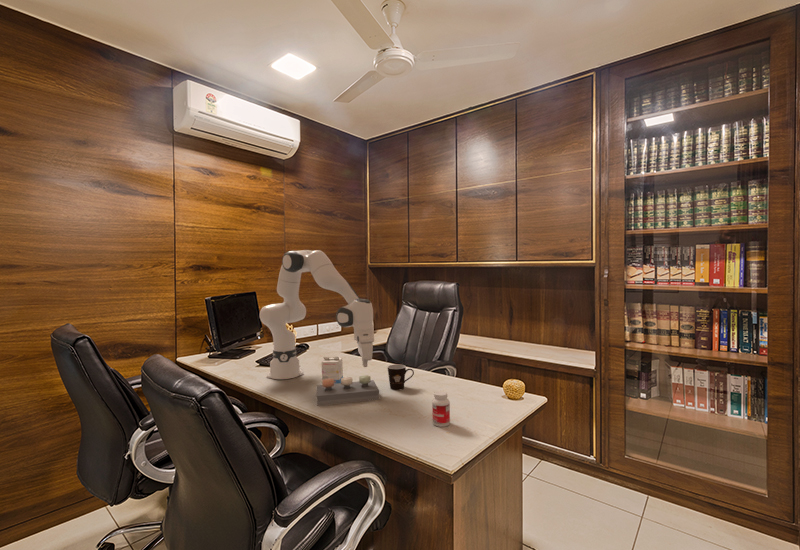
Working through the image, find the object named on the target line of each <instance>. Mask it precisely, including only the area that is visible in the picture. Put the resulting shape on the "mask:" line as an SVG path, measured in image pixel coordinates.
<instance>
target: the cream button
mask: <svg viewBox="0 0 800 550" xmlns="http://www.w3.org/2000/svg"><path fill="white" fill-rule="evenodd" d="M353 382H354V381H353V377H351V376H345V377H344V376H343V378H341V385H344V389H350V385H351V384H353Z"/></svg>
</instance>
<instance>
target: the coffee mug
mask: <svg viewBox="0 0 800 550" xmlns="http://www.w3.org/2000/svg"><path fill="white" fill-rule="evenodd" d="M406 368H407V366H406V365H404V364H398V363H396V364H389V365H387V373H388V379H389V380H388V382H389V386H390V387H389V388H390V390H393V391H401V390H403V389H405V383H406V382H407V381H409V380H410V379H411V378H412V377H413V376H414V374H415V373H414V369H413V368H407V369H406ZM408 371H412V374H411V375H410V376H409V377H408V378H406V374H407V373H408Z"/></svg>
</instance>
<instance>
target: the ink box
mask: <svg viewBox="0 0 800 550" xmlns="http://www.w3.org/2000/svg"><path fill="white" fill-rule="evenodd" d="M343 371H344V367H343V357H338V356H324V357H323V360H322V361H321V377H322V378H321V380H324V379H334V384H337V383H341V378H344V375H343V374H344V372H343Z"/></svg>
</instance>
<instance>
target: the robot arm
mask: <svg viewBox="0 0 800 550" xmlns="http://www.w3.org/2000/svg"><path fill="white" fill-rule="evenodd" d="M309 272H310V274H311V276H312V278H313V280H314V281H315V282H316V285H318V286H319V287H321V288H322V289H324V290H329V291H332V292H335V293H338V294H339V295H341V296H342V297H343V299H344V300H345V301H346V303H347V305H344V306H341V307H339V308H338V309H337V310H336V314H335V320H336V322H337V324H338V326H340V327H341V328H350V327H353V340H354V341H356V343H357V350H358V351H357V352H358V354H359V355H360V357H361V363H362V366H363V368H367V367H368V362H369V361H372V360H373V349H374V348H373V347H374V345H373V344H374V342H375V332H374V331H375V330H374V324H373V321H374V309H373V304H372V302H371V300H369V299H366V298H361V297H360V296H359V295H358V294H357V292H356V291H355V289H354V288H353V287H352V285H351V284H350V282H349V281H347V279H345V278H344V277H343V276H342V275H341V274H340V272H339V271H338V270H337V269H336V268H335V266H334V264H333V262H332V260H330V258H329V257H328V256H327V254H326V253H325V252H324V251H322V250H319V249H317V250H310V249H303V250H289V251H287V252H285V253H283V256H282V259H281V267H280V270H279V274H278V279H277V280H278V281H277V286H276V293H277V295H278V296H279V297H281V298H282V299H283V302H281V303H280V302H279V303H271V304H267V305H265V306H261V307H262V308H261V309H260V311H259V319H260V322H261V323H262V324H263V325H264V326H266V327H267V328H268V329H269V331H270V333H271V334H272V342H273V350H272V357H273V358H272V360H270V362H269V364H270V365H269V373H268V374H266V378H268V379H273V380H288V379H294V378H296V377H299V376H303V375H304V371H303V369H301V365H300V359H299V358H298V357H297V347H296V335H295V333H294V332H293V331H291V330H289V329H288V328H287V324H291V323H297V322H299V321H302V320H304V319H305V317H306V315H307V307H306V306H305V305H304V303H303V302H302V301H301V299H300V293H299V292H300V286H301V285H300V284H301V279H302V273H309Z"/></svg>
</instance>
